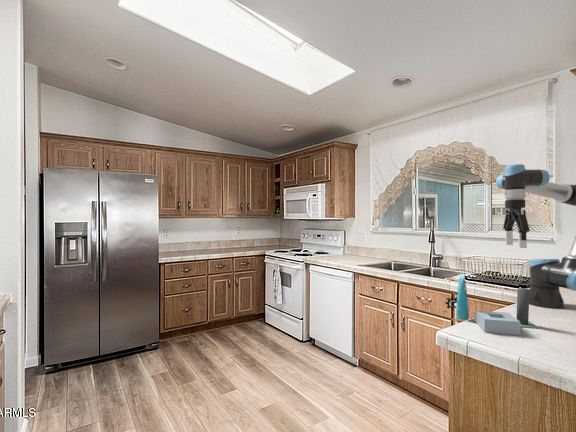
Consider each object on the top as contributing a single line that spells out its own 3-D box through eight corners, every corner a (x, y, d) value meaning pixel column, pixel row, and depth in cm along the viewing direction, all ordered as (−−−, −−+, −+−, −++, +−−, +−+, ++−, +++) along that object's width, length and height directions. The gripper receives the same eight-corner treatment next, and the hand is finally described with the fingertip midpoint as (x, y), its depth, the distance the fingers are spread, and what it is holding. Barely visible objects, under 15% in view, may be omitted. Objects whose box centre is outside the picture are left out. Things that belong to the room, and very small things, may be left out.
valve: (474, 317, 143) (458, 309, 155) (474, 302, 143) (458, 295, 155) (459, 317, 143) (445, 309, 155) (459, 302, 143) (445, 296, 155)
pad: (529, 322, 136) (529, 321, 136) (538, 328, 129) (538, 327, 129) (507, 320, 138) (507, 319, 138) (515, 326, 131) (515, 325, 131)
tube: (471, 321, 137) (471, 276, 137) (458, 320, 138) (458, 276, 138) (465, 316, 144) (465, 273, 144) (453, 315, 145) (453, 273, 145)
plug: (525, 322, 135) (526, 288, 135) (530, 325, 131) (531, 291, 131) (514, 321, 136) (515, 288, 136) (518, 324, 132) (519, 290, 132)
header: (507, 324, 133) (507, 312, 133) (520, 335, 122) (520, 321, 122) (475, 322, 136) (475, 310, 136) (484, 332, 125) (484, 319, 125)
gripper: (494, 200, 159) (495, 243, 159) (518, 198, 134) (518, 249, 134) (512, 200, 157) (513, 243, 157) (538, 197, 132) (539, 249, 133)
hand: (515, 246), depth 146 cm, fingers open, 13 cm apart
